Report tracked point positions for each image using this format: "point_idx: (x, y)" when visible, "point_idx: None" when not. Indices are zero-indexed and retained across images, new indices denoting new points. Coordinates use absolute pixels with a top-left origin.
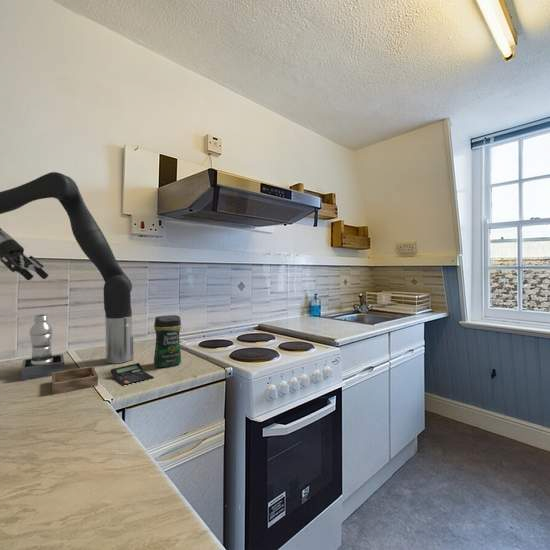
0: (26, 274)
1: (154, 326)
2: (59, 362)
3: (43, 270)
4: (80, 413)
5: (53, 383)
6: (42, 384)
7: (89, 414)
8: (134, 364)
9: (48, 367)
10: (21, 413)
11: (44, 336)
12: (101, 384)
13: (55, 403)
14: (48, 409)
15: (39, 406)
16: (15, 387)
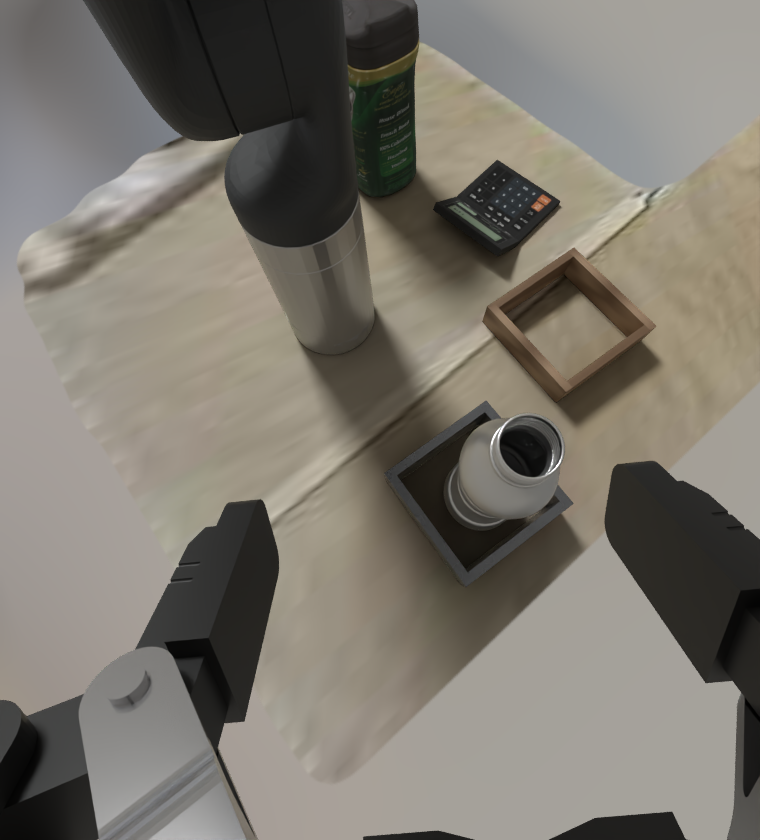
0: (722, 520)
1: (392, 64)
2: (490, 415)
3: (200, 582)
4: (721, 218)
5: (649, 327)
6: (576, 418)
7: (721, 199)
8: (448, 210)
9: None
10: (755, 337)
11: (527, 436)
12: None
13: (688, 299)
14: (721, 293)
15: (712, 323)
16: None
